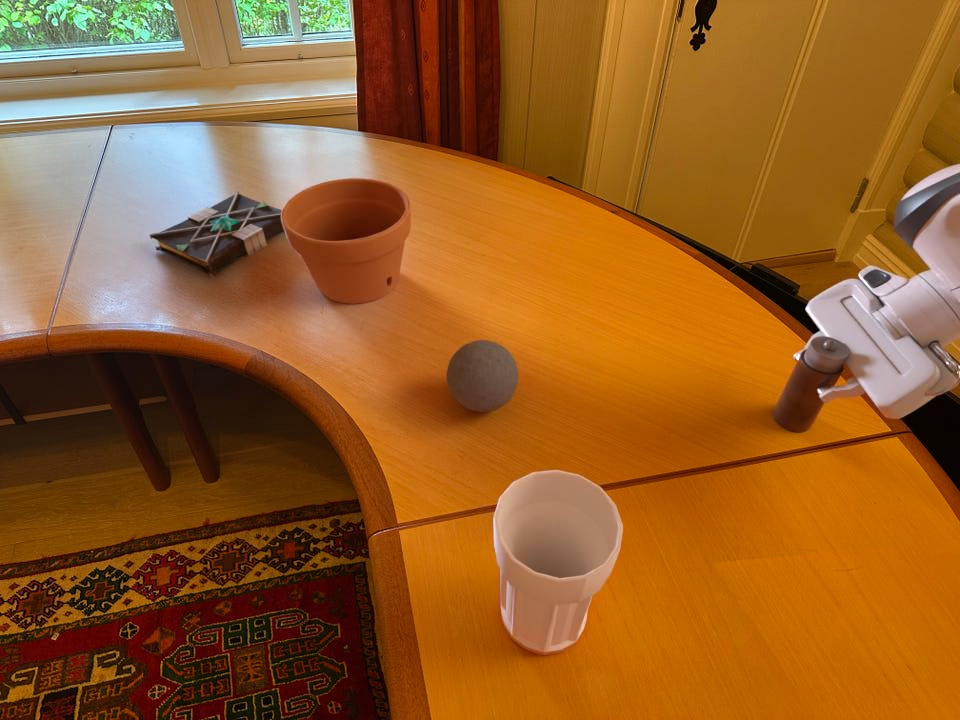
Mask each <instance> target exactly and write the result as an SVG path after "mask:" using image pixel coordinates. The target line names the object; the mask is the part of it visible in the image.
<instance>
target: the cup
mask: <svg viewBox="0 0 960 720" xmlns="http://www.w3.org/2000/svg"><path fill="white" fill-rule="evenodd" d="M494 511H495V512H494V514H493V517H492V519H493V520H492V521H493V524H492V525H493V545H494V552H495V557H496V563H497V566H498V568H499V582H500V583H499V584H500V586H499V587H500V588H499V589H500V593H499V595H500V599H499V600H500V601H499V602H500V603H499V604H500V614H501V615H500V616H501V621H502V624H503V627H504V628H505V631H506V632H507V634H508V636H509V637H510V639H511V640H512V641H513V642H514V643H516V644H517V645H518V646H520V647H521V648H523V649H524V650H526V651H528V652H531V653H534V654H537V655H542V656H548V655H549V656H550V655H555V654H560V653H563V652H565V651H567V650H569V649H570V648H572V647H573V646H574V645H576V644H577V643H578V641H579V639H580V638H581V636H582V634H583V633H584V630H585V627H586V623H587V617H588V612H589V611H588V610H589V608H590V605H591V603H592V599H593V596H594V595H595V594H596V593H598V592H600V591H601V590H602V588H603V586H604V585H605V583H606V582H607V580H608V579H609V577H610V575H611V574H612V573H613V569H614V566H615V564H616V561H617V559H618V556H619V554H620V551H621V547H622V540H623V531H624V525H623V522H622V519H621V515H620V513H619V511H618V507H617V504H616V503H615V502H614V501H613V499H611V497H610V496H609V495H608V494H607V493H606V491H605V490H604V489H603V488H602V487H601V486H600V485H598V484H596V483H594V482H593V481H591V480H590V479H588V478H586V477H584V476H582V475H580V474H579V473H578V474H577V473H574V472H573V473H572V472H569V471H564V470H560V469H553V470H552V469H551V470H541V471H533V472H531V473H529V474H527V475H525V476H523V477H520V478H518V479H516V480H514V481H513V482H511V484H510V485H509V486H508V487H507V489H506V490H505V491H504V492H503V493H502V494H501V495H500V496H499V497H498V502H497V505H496V508H495V510H494Z"/></svg>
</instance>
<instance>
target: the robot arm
mask: <svg viewBox="0 0 960 720" xmlns="http://www.w3.org/2000/svg"><path fill="white" fill-rule="evenodd" d="M893 232H894V233H896V235H897V236H898V237H900V239H901V240H902V241H903V242H904V243H906V245H907V246H908V247H909V248H910V249H911V250H913V251H915V253H916V254H917V255H918V256H919V257H920V258H921V260H922V261H923V262H924V263H925V264H926V266H927V267H928V268H929V269H928V270H924V271H921V272H920V273H917V274H916V275H914V276H913V277H910V278H909V279H908V278H905V277H903V276H901V275H897V274H894V273H892V272H889V271H887V270H885V269H882V268H881V267H878V266H875V265H868V266H867V267H865V268H862V270H860V271H859V272H858V274H857V275H858V278H848V279H843V280H842V281H839V282H837V283H836V284H834V285H832V286H830V287H829V288H826V289H825V290H823V291H821V292H820V293H818V294H817V295H816V296H814V297H813V298H811V299H810V300H809V301H808V302H807V305H806V306H805V308H804V309H805V312H806V313H807V315H808V316H809V317H810V318H811V320H812V322H813V323H814V324H815V325H816V327H817V329H819V331H817V332H816V333H814V334H812V335H811V337H810V338H809V339H808V341H807V343H806V344H805V346H804V347H803V349H801V350H799V351H798V352H796V353H794V354H793V356H792V357H793V359H794V360H795V362H796V363H797V361H798V359H799V357H800V355H801V353H802V352H803V351H804V350H806V349H807V348H808V346H809V344H810V342H811V340H812V339H813V338H815V337H819V336H826V337H831V338H834V339H836V340H838V341H840V342H842V343H843V344H844V345H845V346H846V347H847V349H848V356H847V358H846V359H845V361H844V363H843V364H845V365H846V367H847V369H848V370H849V371H850V373H851V374H852V375H853V376H852V377H850V378H848V379H847V380H845V383H846V384H842V385H835V386H833V387H831V386H830V385H829V384H828V383H827V384H825V385H823V386H822V387H819V388H817V389H816V392H817V394H818V395H819V397H820V398H821V400H822V401H823V402H824V403H825V404H829V403H831V402H833V401H835V400H836V399H838V398H840V399H841V398H858V397H860V396H861V395H864V394H865V393H866V394H867V396H868V397H869V398H870V399H871V401H872V402H873V403H874V406H876V407H877V409H878V411H880V413H881V414H882V415H883V416H884V418H886V419H890V420H891V419H893V420H899V419H902V418H904V417H906V416H907V415H909V414H911V413H913V412H914V411H916V410H918V409H920V408H921V407H923V406H924V405H926V404H927V403H928V402H930V401H931V400H932V399H934V398H935V397H937V396H941V395H943V394H944V393H947V392H949V391H951V390H953V389H955V388H956V387H958V385H959V383H960V363H958V362H957V361H956V360H955V359H953V357H951V355H950V353H948V351H947V350H946V349H945V347H946V346H948V345H950V344H953V343H954V342H955V341H958V340H959V339H960V163H957V164H953V165H950V166H947V167H944V168H942V169H939V170H938V171H936V172H934V173H931V174H930V175H928V176H926V177H925V178H923V179H922V180H920V181H919V182H917V183H916V184H914V186H912V187H910V189H909V190H908V191H907V192H906V193H905V194H904V195H903V197H902V198H901V199H900V200H898V202H897V204H896V209H895V214H894V220H893ZM955 375H956V376H955Z"/></svg>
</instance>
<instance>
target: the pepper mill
mask: <svg viewBox="0 0 960 720" xmlns="http://www.w3.org/2000/svg"><path fill="white" fill-rule="evenodd" d="M847 356H848V349H847V347H846V346H845V345H844V344H843V343H842V342H840V341H838V340H836V339H834V338H831V337H826V336H819V337H815V338H813V339H812V340H811V342H810V344H809V346H808V348H807V349H806V350H804V351H803V352H802V353H801V355H800V357H799V359H798V361H797V362H796V363H795V365H794V367H793V369H792V371H791V373H790V376H789V377H788V379H787V381H786V383H785V385H784V387H783V389H782V392H781V394H780V396H779V398H778V399H777V402H776V404H775V406H774V408H773V410H772V417H773V420H774V421H775V423H777V424H778V426H780V427H781V428H783V429H785V430H787V431H788V432H793V433H804V432H807V431H809V430H810V429H811V428H812V427H813V425H814V423H815V421H816V419H817V418H818V416H819V414H820V412H821V410H822V409H823V407H824V405H825V404H826V403H824V402H823V401H822V400H821V398H820V397H819V395H818V394H817V392H816V389H817V388H819V387H822V386H823V385H825V384H827V383H828V384H829V385H830V386H831V387H833V386H836V384H837V383H838V381H839V379H840V377H841V375H842V374H843V372H844V370H845V365H844V364H845V363H844V361H845V359H846V358H847Z"/></svg>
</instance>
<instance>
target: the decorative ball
mask: <svg viewBox="0 0 960 720" xmlns="http://www.w3.org/2000/svg"><path fill="white" fill-rule="evenodd" d="M446 370H447V371H446V383H447V387H448V391H449V392H450V394H451V396H452V397H453V399H454V401H456V402H457V403H458V404H459V405H460V406H462V407H464V408H465V409H467V410H469V411H473V412H476V413H477V412H478V413H488V412H493V411H495V410H498V409H500V408H502V407H503V406H505V405H507V403H508V402H509V401H510V400H511V399H512V398H513V396H514V394H515V393H516V390H517V388H518V384H519V367H518V365H517V362H516V360H515V358H514V356H513V355H512V353H511V352H510V351H509V350H508V348H506V347H504V346H503V345H502V344H499V343H497V342H495V341H493V340H488V339H487V340H486V339H480V340H472V341H470V342H467V343H466V344H464V345H462V346H461V347H459V349H457V350H456V351H455V353H454V354H452V357H451V358H450V360H449V362H448V365H447V368H446Z"/></svg>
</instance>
